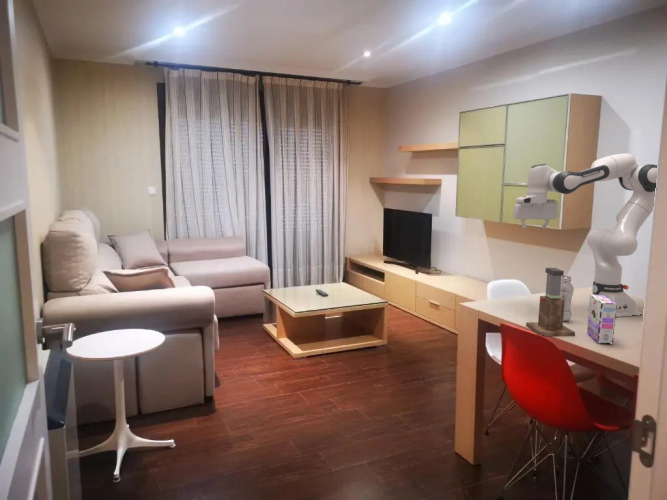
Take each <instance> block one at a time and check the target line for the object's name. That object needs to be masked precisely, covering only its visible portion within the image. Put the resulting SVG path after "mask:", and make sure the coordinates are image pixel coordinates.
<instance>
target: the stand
mask: <svg viewBox="0 0 667 500" xmlns="http://www.w3.org/2000/svg"><path fill="white" fill-rule="evenodd" d="M538 305H539V306H538V307H539V308H538V320H537V321H536V322H535V321H529V322H528V321H527V322H526V323H525V326H526V327H527V328H529V329H530V330H532V332H534V333H536V334H537V333H539V334H541V335H544V336H543V337H575V335H576V331H574V330H572V329H571V328H568V327H567V326H565V325H564V321H563V317H564V305H565V300H563V299H561V298H560V299H552V300H550V299H548V298H546V297H545V295H540V296H539V304H538ZM539 334H538V335H539Z"/></svg>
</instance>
